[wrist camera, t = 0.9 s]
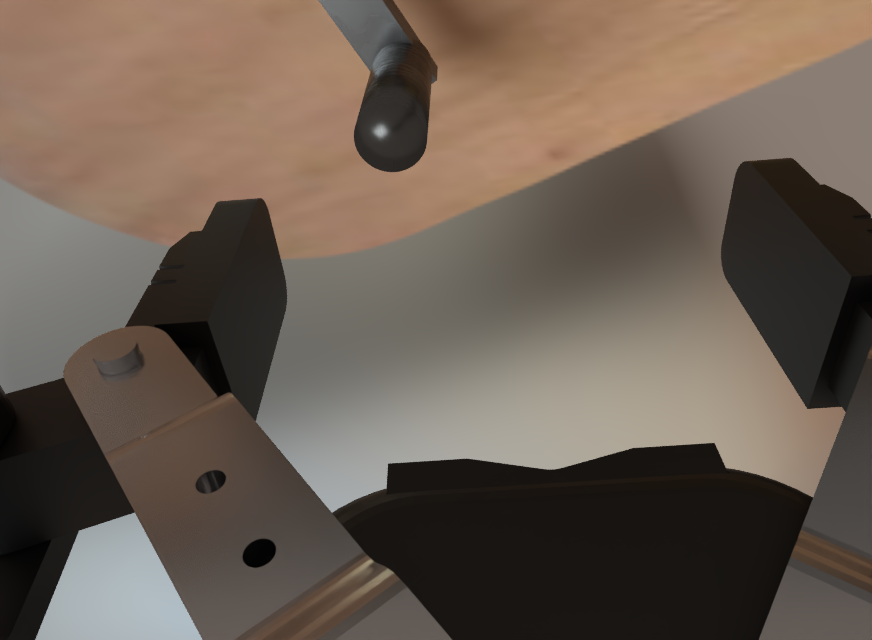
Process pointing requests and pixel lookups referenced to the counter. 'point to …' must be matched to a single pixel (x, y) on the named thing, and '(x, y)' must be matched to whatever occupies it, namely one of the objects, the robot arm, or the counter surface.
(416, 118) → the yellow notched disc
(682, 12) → the counter surface
